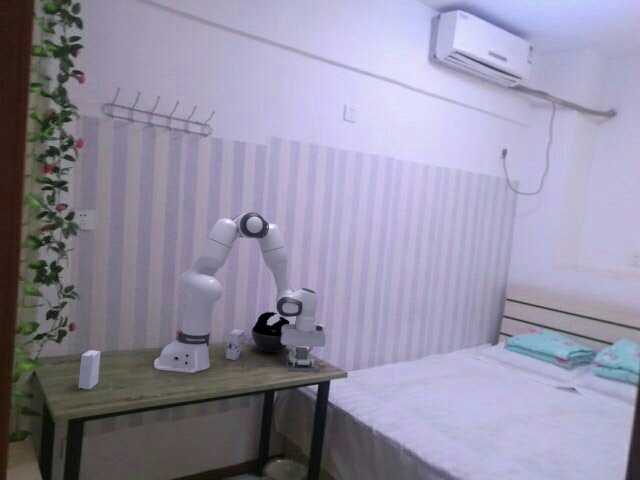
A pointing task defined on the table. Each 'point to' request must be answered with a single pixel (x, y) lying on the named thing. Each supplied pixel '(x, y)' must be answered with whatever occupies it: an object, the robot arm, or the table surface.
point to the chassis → (300, 366)
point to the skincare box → (89, 369)
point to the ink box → (235, 344)
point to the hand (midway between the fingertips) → (301, 355)
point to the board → (301, 361)
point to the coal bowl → (268, 333)
